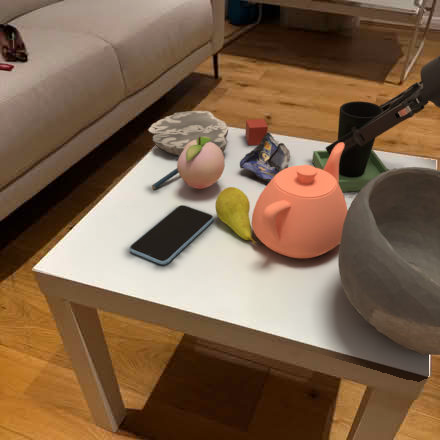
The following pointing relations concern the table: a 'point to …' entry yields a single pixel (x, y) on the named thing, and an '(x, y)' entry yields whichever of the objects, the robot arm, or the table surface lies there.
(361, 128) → the robot arm
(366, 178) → the green tray
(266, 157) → the snack package
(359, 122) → the cup
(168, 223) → the smartphone
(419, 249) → the bowl
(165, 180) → the pencil
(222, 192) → the fruit
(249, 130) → the red block
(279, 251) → the teapot
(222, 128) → the brain slice
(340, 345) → the table surface
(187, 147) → the decorative fruit
